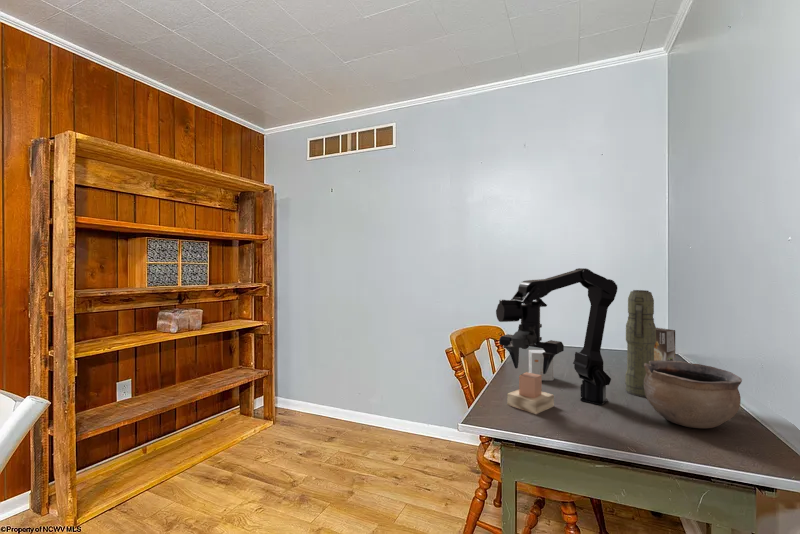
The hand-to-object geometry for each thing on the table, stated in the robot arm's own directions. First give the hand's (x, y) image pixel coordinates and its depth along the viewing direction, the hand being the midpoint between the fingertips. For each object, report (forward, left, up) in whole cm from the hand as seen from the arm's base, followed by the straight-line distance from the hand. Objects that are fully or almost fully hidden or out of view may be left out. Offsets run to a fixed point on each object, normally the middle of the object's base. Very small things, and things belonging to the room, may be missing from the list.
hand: (530, 371), depth 122 cm
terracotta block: (0, 0, -7) cm, 7 cm away
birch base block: (0, 0, -11) cm, 11 cm away
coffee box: (-20, -82, -11) cm, 85 cm away
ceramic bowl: (-38, -18, -11) cm, 44 cm away
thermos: (-22, -37, -11) cm, 45 cm away
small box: (+10, -30, -11) cm, 34 cm away
